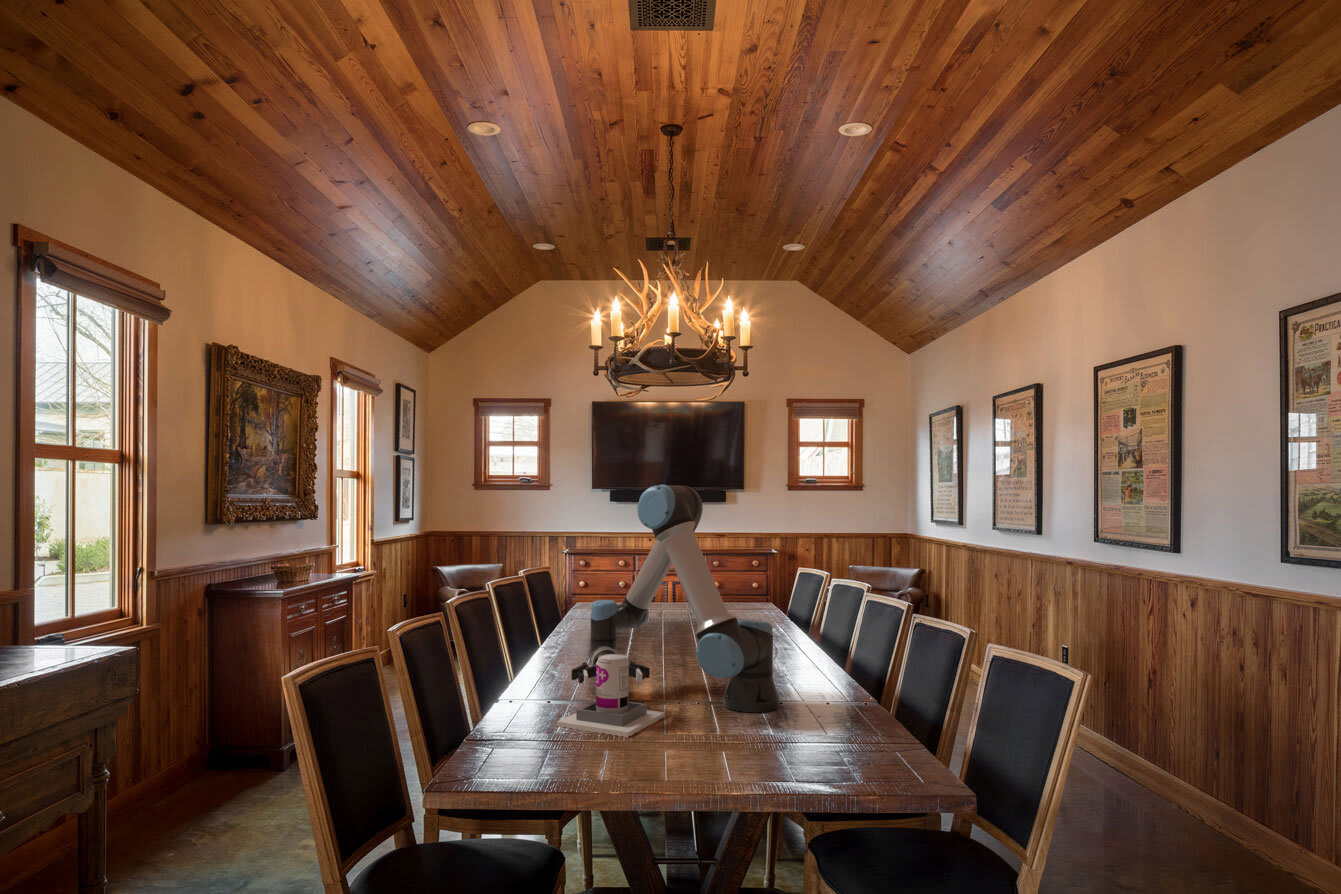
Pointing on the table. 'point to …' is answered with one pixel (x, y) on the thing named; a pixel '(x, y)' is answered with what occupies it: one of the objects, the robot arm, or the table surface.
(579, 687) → the table surface
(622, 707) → the supplement can
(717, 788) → the table surface
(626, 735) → the socket board
